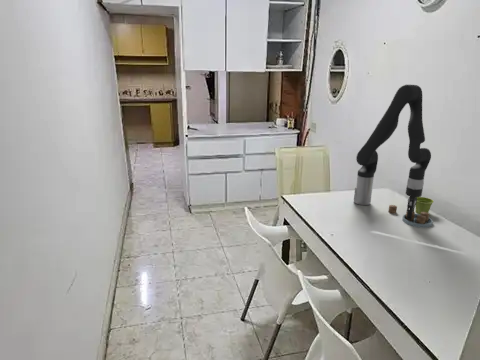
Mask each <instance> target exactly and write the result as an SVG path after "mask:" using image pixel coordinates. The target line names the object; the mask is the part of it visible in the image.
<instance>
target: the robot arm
mask: <svg viewBox="0 0 480 360" xmlns="http://www.w3.org/2000/svg"><path fill="white" fill-rule="evenodd" d="M407 104H408V106H409V113H410V115H409V120H408V124H407V133H408V134H407V135H408V138H409V139H408V140H409V143H408V150H407V156H408V160H409V161H410V162H411V163H415V164H414V165H413V166H411V167H410V168H409V171H408V172H409V173H408V178H407V182H406V189H405V195H406V196H408V199H407V205H406V207H407V208H406V212H407V219H411V218H412V212H415V209H416V203H417V197H423V196H422V195H423V189H424V182H425V181H424V180H425V173H426V170H427V168H428V166H429V164H430V162H431V159H432V152H431V150H430V149H429V148H426V147H421V144H423V143H425V141H426V137H425V130H424V129H425V128H424V123H423V91H422V88H421V87H420V86H419V85H416V84H403V85H401V86H400V87H398V89H397V91H395V94H394V96H393V99H392V100H391V103H390V104H389V106H388V108H387V109H386V111H385V113H384V114H383V116H382V117H381V119H380V120H379V121H378V123H377V124H376V127H375V129H374V130H373V131H372V133H371V134H370V135H369V138H368V139H367V141H366V142H365V143H364V144H363V146H362V147H361V148H360V150H358V152H357V154H356V159H355V160H356V163H357V164H358V165H359V166H361V167H360V168H359V169H358V170H357V176H356V185H355V188H354V194H353V195H354V196H353V203H355V204H357V205H361V206H369V205H371V202H372V193H373V186H374V178H375V173H376V172H377V167H378V162H379V154H378V152H377V150H378V148H380V147H381V146H382V145H383V144H384V143H385V142H386V141H388V139H390V138H391V137H392V135H393V134H394V132H395V131H396V129H397V128H398V125H399V118H400V114H401V113H402V111H403V109H404V108H405V107H406V105H407Z"/></svg>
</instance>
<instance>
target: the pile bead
mask: <svg viewBox="0 0 480 360" xmlns="http://www.w3.org/2000/svg"><path fill="white" fill-rule="evenodd" d="M397 209H398V206H397V205H394V204H389V206H388V213H390V214H397Z"/></svg>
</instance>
